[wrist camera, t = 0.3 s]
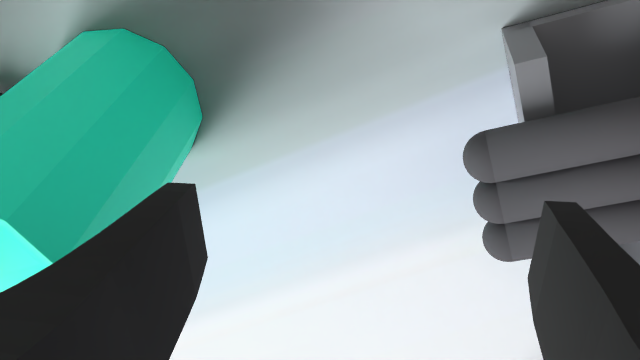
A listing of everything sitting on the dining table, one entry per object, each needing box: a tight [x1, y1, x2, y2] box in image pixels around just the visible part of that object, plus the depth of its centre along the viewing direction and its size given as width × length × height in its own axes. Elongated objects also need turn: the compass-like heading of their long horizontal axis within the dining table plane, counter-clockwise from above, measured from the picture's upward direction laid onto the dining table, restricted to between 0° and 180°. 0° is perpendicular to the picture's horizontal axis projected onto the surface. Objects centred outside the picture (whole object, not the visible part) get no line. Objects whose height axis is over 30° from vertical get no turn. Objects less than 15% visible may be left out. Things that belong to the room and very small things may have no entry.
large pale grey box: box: [502, 0, 640, 265], centre depth 22 cm, size 16×6×3 cm, turn 19°
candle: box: [0, 29, 203, 292], centre depth 18 cm, size 6×6×12 cm
